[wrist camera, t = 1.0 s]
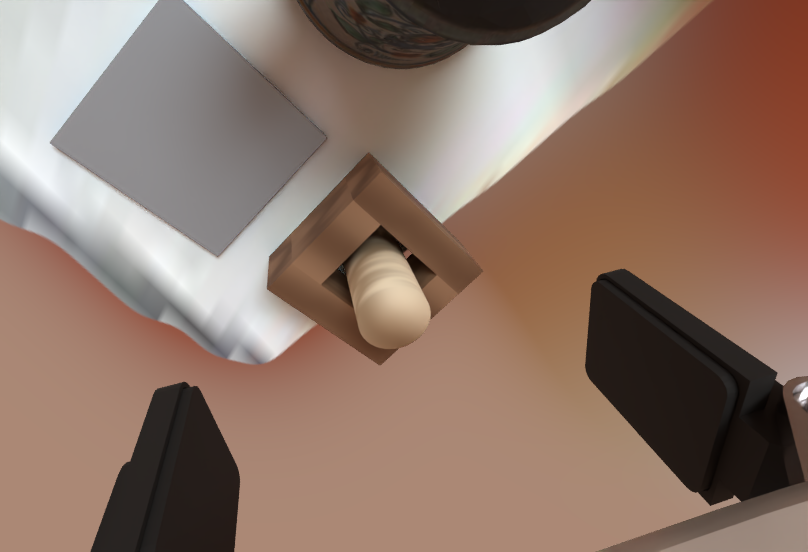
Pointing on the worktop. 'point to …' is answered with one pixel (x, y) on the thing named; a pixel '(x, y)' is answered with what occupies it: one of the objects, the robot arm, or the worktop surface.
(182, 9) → the slate mat
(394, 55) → the beer stein
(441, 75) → the worktop surface
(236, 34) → the worktop surface
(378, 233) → the maple plug
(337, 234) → the walnut holder
